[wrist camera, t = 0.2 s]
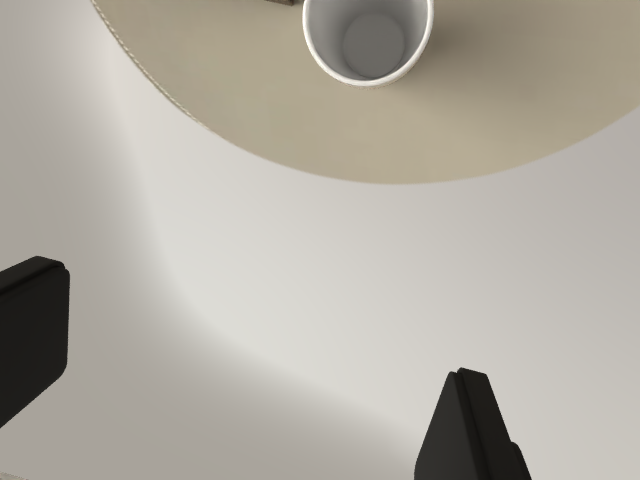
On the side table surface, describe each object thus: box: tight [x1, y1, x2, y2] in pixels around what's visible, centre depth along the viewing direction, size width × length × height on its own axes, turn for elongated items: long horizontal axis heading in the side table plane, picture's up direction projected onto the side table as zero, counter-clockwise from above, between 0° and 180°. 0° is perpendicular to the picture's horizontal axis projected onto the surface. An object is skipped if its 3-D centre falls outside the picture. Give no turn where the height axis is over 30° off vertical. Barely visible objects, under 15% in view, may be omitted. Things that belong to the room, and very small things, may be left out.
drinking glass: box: [303, 0, 434, 89], centre depth 30 cm, size 7×7×15 cm
